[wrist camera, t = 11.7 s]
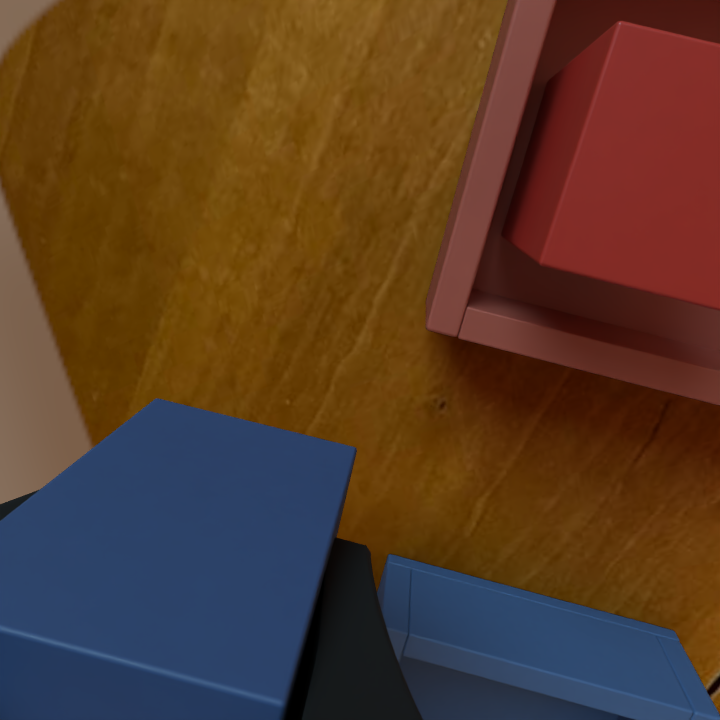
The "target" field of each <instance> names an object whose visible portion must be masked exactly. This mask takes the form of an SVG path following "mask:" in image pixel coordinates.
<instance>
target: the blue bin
mask: <svg viewBox="0 0 720 720" xmlns="http://www.w3.org/2000/svg"><path fill="white" fill-rule="evenodd" d="M377 596H378V600H379V604H380V607H381V611H382V614H383V618H384V621H385V624H386V627H387V631H388V634H389V637H390V640H391V643H392V646H393V649H394V652H395V655H396V657H397V660H398V662H399V665H400V668H401V670H402V673H403V675H404V678H405V680H406V683H407V685H408V688H409V690H410V692H411V695H412V697H413V699H414V701H415V704H416V706H417V708H418V710H419V712H420V714H421V716H422V718H423V720H720V715H719V713H718V711H717V709H716V707H715V705H714V704H713V702H712V700H711V698H710V696H709V694H708V693H707V691H706V689H705V687H704V685H703V683H702V682H701V680H700V678H699V676H698V674H697V672H696V671H695V669H694V667H693V665H692V663H691V662H690V660H689V658H688V656H687V654H686V652H685V651H684V649H683V647H682V645H681V643H679V639H678V637H677V635H676V633H675V631H673V630H670V629H666V628H663V627H659V626H655V625H651V624H648V623H644V622H640V621H637V620H633V619H629V618H625V617H622V616H618V615H614V614H611V613H607V612H603V611H600V610H596V609H592V608H588V607H585V606H581V605H577V604H574V603H570V602H566V601H563V600H559V599H555V598H551V597H548V596H544V595H540V594H537V593H533V592H529V591H525V590H522V589H518V588H514V587H511V586H507V585H503V584H500V583H496V582H492V581H488V580H485V579H481V578H477V577H474V576H470V575H466V574H462V573H459V572H455V571H451V570H448V569H444V568H440V567H437V566H433V565H429V564H425V563H422V562H418V561H414V560H411V559H407V558H403V557H400V556H396V555H392V554H389V555H388V557H387V561H386V564H385V567H384V571H383V574H382V578H381V581H380V585H379V588H378V591H377Z"/></svg>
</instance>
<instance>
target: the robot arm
mask: <svg viewBox="0 0 720 720" xmlns="http://www.w3.org/2000/svg"><path fill="white" fill-rule="evenodd" d="M38 491H39V490H38ZM38 491H35V492H32V493H30V494H27V495H24V496H22V497H19V498H16V499H14V500H11V501H8V502H5V503H3V504H0V521H1V520H2V519H3V518H5V517H6V516H7V515H8V514H10V513H11V512H12V511H13V510H15V509H16V508H17V507H19V506H20V505H21V504H22V503H24V502H25V501H26V500H27V499H29V498H30V497H31V496H33V495H34V494H35V493H36V492H38ZM290 720H423V718H422V716H421V714H420V712H419V710H418V708H417V706H416V704H415V701H414V699H413V697H412V695H411V692H410V690H409V688H408V685H407V683H406V680H405V678H404V675H403V673H402V670H401V668H400V665H399V662H398V660H397V657H396V655H395V652H394V649H393V646H392V643H391V640H390V637H389V634H388V631H387V627H386V624H385V621H384V618H383V614H382V611H381V607H380V604H379V600H378V596H377V591H376V587H375V583H374V577H373V572H372V565H371V553H370V551H369V550H368V548H367V546H366V545H362V544H358V543H354V542H350V541H347V540H343V539H339V538H335V539H334V543H333V546H332V549H331V553H330V556H329V560H328V563H327V567H326V570H325V575H324V579H323V583H322V587H321V592H320V596H319V600H318V604H317V608H316V613H315V617H314V621H313V625H312V629H311V634H310V638H309V642H308V646H307V651H306V655H305V659H304V663H303V667H302V672H301V676H300V680H299V684H298V688H297V693H296V697H295V701H294V705H293V710H292V714H291V718H290Z"/></svg>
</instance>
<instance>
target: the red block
mask: <svg viewBox="0 0 720 720" xmlns="http://www.w3.org/2000/svg"><path fill="white" fill-rule="evenodd" d="M501 236H502V237H503V238H504V239H506V240H507V241H509V242H510V243H511V244H513V245H514V246H515V247H517V248H518V249H519V250H521V251H522V252H523V253H525V254H526V255H527V256H529V257H530V258H531V259H533V260H534V261H535V262H537V263H538V264H539V265H541V266H544V267H548V268H552V269H556V270H560V271H564V272H568V273H571V274H575V275H579V276H583V277H587V278H591V279H595V280H599V281H603V282H607V283H611V284H615V285H619V286H623V287H627V288H631V289H635V290H639V291H643V292H647V293H651V294H655V295H659V296H663V297H667V298H670V299H674V300H678V301H682V302H686V303H690V304H694V305H698V306H702V307H706V308H710V309H714V310H718V311H720V44H718V43H714V42H710V41H706V40H701V39H697V38H693V37H689V36H684V35H680V34H676V33H672V32H668V31H663V30H659V29H655V28H651V27H646V26H642V25H638V24H634V23H630V22H625V21H618V22H617V23H615V24H614V25H613V26H612V27H611V28H610V29H608V30H607V31H606V32H605V33H604V34H602V35H601V36H600V37H599V38H598V39H597V40H595V41H594V42H593V43H592V44H591V45H590V46H588V47H587V48H586V49H585V50H584V51H582V52H581V53H580V54H579V55H578V56H577V57H575V58H574V59H573V60H572V61H571V62H569V63H568V64H567V65H566V66H565V67H564V68H562V69H561V70H560V71H559V72H558V73H557V74H555V75H554V76H553V77H552V78H551V79H549V80H548V82H547V84H546V88H545V91H544V94H543V98H542V101H541V104H540V107H539V111H538V114H537V117H536V121H535V124H534V127H533V131H532V134H531V137H530V140H529V144H528V147H527V150H526V154H525V157H524V160H523V164H522V167H521V170H520V173H519V177H518V180H517V183H516V187H515V190H514V193H513V197H512V200H511V203H510V206H509V210H508V213H507V216H506V220H505V223H504V226H503V229H502V233H501Z"/></svg>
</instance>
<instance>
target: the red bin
mask: <svg viewBox="0 0 720 720" xmlns="http://www.w3.org/2000/svg"><path fill="white" fill-rule="evenodd" d="M618 21H625V22H630V23H634V24H638V25H642V26H646V27H651V28H655V29H659V30H663V31H668V32H672V33H676V34H680V35H684V36H689V37H693V38H697V39H701V40H706V41H710V42H714V43H718V44H720V0H508V2H507V6H506V10H505V13H504V17H503V21H502V24H501V28H500V32H499V35H498V39H497V43H496V46H495V50H494V54H493V57H492V61H491V65H490V68H489V72H488V76H487V79H486V83H485V86H484V90H483V94H482V97H481V101H480V105H479V108H478V112H477V116H476V119H475V123H474V127H473V130H472V134H471V138H470V141H469V145H468V149H467V152H466V156H465V160H464V163H463V167H462V171H461V174H460V178H459V182H458V185H457V189H456V193H455V196H454V200H453V204H452V207H451V211H450V215H449V218H448V222H447V226H446V229H445V233H444V237H443V240H442V244H441V248H440V251H439V255H438V259H437V262H436V266H435V270H434V273H433V277H432V281H431V284H430V288H429V292H428V295H427V299H426V329H427V330H428V331H432V332H436V333H440V334H444V335H447V336H451V337H457V336H458V338H459V339H461V340H465V341H469V342H473V343H477V344H481V345H485V346H489V347H493V348H496V349H500V350H504V351H508V352H512V353H516V354H520V355H524V356H528V357H532V358H536V359H539V360H543V361H547V362H551V363H555V364H559V365H563V366H567V367H571V368H575V369H579V370H582V371H586V372H590V373H594V374H598V375H602V376H606V377H610V378H614V379H618V380H621V381H625V382H629V383H633V384H637V385H641V386H645V387H649V388H653V389H657V390H661V391H664V392H668V393H672V394H676V395H680V396H684V397H688V398H692V399H696V400H700V401H704V402H707V403H711V404H715V405H719V406H720V311H718V310H714V309H710V308H706V307H702V306H698V305H694V304H690V303H686V302H682V301H678V300H674V299H670V298H667V297H663V296H659V295H655V294H651V293H647V292H643V291H639V290H635V289H631V288H627V287H623V286H619V285H615V284H611V283H607V282H603V281H599V280H595V279H591V278H587V277H583V276H579V275H575V274H571V273H568V272H564V271H560V270H556V269H552V268H548V267H544V266H541V265H539V264H538V263H537V262H535V261H534V260H533V259H531V258H530V257H529V256H527V255H526V254H525V253H523V252H522V251H521V250H519V249H518V248H517V247H515V246H514V245H513V244H511V243H510V242H509V241H507V240H506V239H504V238H503V237H502V236H501V233H502V229H503V226H504V223H505V220H506V216H507V213H508V210H509V206H510V203H511V200H512V197H513V193H514V190H515V187H516V183H517V180H518V177H519V173H520V170H521V167H522V164H523V160H524V157H525V154H526V150H527V147H528V144H529V140H530V137H531V134H532V131H533V127H534V124H535V121H536V117H537V114H538V111H539V107H540V104H541V101H542V98H543V94H544V91H545V88H546V84H547V82H548V80H549V79H551V78H552V77H553V76H554V75H555V74H557V73H558V72H559V71H560V70H561V69H562V68H564V67H565V66H566V65H567V64H568V63H569V62H571V61H572V60H573V59H574V58H575V57H577V56H578V55H579V54H580V53H581V52H582V51H584V50H585V49H586V48H587V47H588V46H590V45H591V44H592V43H593V42H594V41H595V40H597V39H598V38H599V37H600V36H601V35H602V34H604V33H605V32H606V31H607V30H608V29H610V28H611V27H612V26H613V25H614V24H615V23H617V22H618Z"/></svg>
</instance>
